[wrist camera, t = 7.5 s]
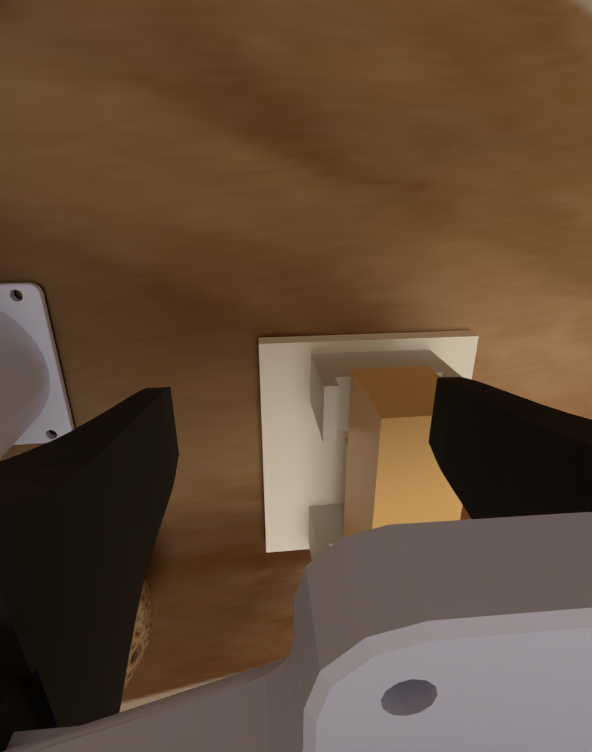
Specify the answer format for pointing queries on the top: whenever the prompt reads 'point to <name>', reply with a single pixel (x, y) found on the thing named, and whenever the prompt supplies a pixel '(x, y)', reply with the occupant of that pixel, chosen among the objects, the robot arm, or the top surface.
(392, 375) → the wooden block with panels
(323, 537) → the display stand
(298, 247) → the top surface
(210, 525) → the top surface
